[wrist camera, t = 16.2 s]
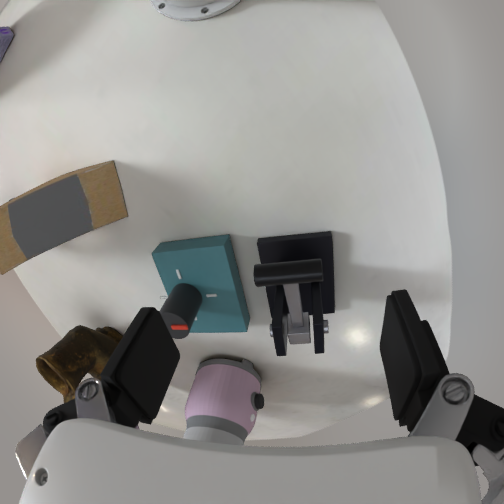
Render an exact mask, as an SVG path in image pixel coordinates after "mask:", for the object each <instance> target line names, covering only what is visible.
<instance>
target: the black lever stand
mask: <svg viewBox="0 0 504 504" xmlns="http://www.w3.org/2000/svg"><path fill="white" fill-rule="evenodd" d="M257 246H258V251H259V256H260V261H261V264H268V263H279V262H290V261H301V260H311V259H321V261H322V270H323V281H320V282H309V283H298V285H299V291H300V298H301V304H302V311H303V312H309V315H313V329H314V347H315V354H319V353H324V333H328V320H323V314H329V313H335V298H334V263H333V242H332V234H331V231H327V232H317V233H307V234H297V235H287V236H277V237H268V238H259V239H258V242H257ZM265 287H266V292H267V297H268V302H269V307H270V313H271V318H272V324H270V336H271V337H273V338H274V343H275V349H276V354H277V356H286V352H287V336H288V335H287V314H289V308H288V304H287V300H286V295H285V291H284V287H283V285H273V286H265Z"/></svg>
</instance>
